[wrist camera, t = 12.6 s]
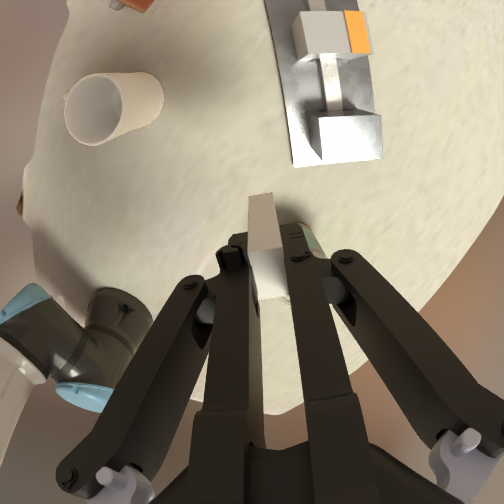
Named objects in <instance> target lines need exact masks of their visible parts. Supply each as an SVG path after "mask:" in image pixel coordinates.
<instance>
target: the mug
mask: <svg viewBox="0 0 504 504" xmlns="http://www.w3.org/2000/svg"><path fill="white" fill-rule="evenodd" d="M62 99H63V100H64V101H65V106H64V120H65V124H66V127H67V129H68V131H69V133H70V134H71V136H72V137H73V138H74V139H75V140H76V141H78V142H79V143H81V144H84V145H88V146H96V145H100V144H103V143H105V142H107V141H109V140H111V139H114V138H116V137H118V136H120V135H122V134H125V133H127V132H129V131H132V130H134V129H139V128H143V127H145V126H147V125H149V124H151V123H152V122H153V121H154V120H155V119H156V118H157V117H158V115H159V114H160V112H161V110H162V107H163V103H164V92H163V88H162V86H161V84H160V82H159V81H158V80H157V79H156V78H155V77H154V76H153V75H151V74H149V73H145V72H133V73H94V74H90V75H87V76H85V77H83V78H81V79H80V80H79V81H78V82H76V83H75V85H74V86H73V87H72V88H71V90H68V91H65V92H64V93H63V95H62Z"/></svg>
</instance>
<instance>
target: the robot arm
mask: <svg viewBox="0 0 504 504" xmlns="http://www.w3.org/2000/svg"><path fill="white" fill-rule="evenodd" d="M215 255H216V258H217V261H218V264H219V267H220V274H218V275H217V276H215V277H213V278H210V279H208V280H204V277H202V276H201V275H190V276H187V277H185V278H184V279H182V280H181V281H180V282H179V283H178V284H177V286H176V287H175V289H174V290H173V292H172V294H171V295H170V297H169V298H168V300H167V302H166V303H165V305H164V306H163V308H162V310H161V311H160V313H159V314H158V316H157V318H156V319H155V321H154V322H153V320H152V317H151V314H150V313H149V311H148V310H147V308H146V307H145V306H144V305H143V304H142V303H141V302H140V301H139V300H137V299H136V298H135V297H133V296H131V295H130V294H128V293H125V292H123V291H120V290H117V289H110V288H107V289H101V290H98V291H97V292H96V293H95V294H94V295H93V296H92V298H91V300H90V302H89V304H88V314H87V317H86V322H85V327H84V328H83V327H81V326H80V325H79V324H78V323H77V322H76V321H75V320H74V319H73V318H72V317H71V316H70V315H69V314H68V313H67V312H66V311H65V310H64V309H63V308H62V307H61V306H60V305H59V304H58V303H57V302H56V301H55V300H54V299H53V297H52V296H51V295H49V294H48V293H47V292H46V291H45V290H44V289H43V288H42V287H41V286H40V285H38V284H36V283H30V284H28V285H27V286H26V287H24V288H23V289H22V290H21V291H20V292H19V293H18V294H17V295H16V296H15V297H14V298H13V299H12V300H11V301H10V302H9V303H8V304H7V305H6V306H5V307H4V309H2V311H1V312H0V467H1V464H2V461H3V458H4V455H5V452H6V449H7V446H8V444H9V441H10V438H11V436H12V433H13V431H14V428H15V426H16V423H17V421H18V418H19V416H20V414H21V412H22V409H23V407H24V405H25V403H26V401H27V398H28V396H29V394H30V392H31V390H32V388H33V386H34V385H36V384H41V383H45V382H46V380H47V378H48V376H50V377H52V378H53V379H54V380H55V381H56V382H57V383H56V385H55V386H56V387H55V390H56V392H57V393H58V394H59V395H60V396H61V397H62V398H64V399H65V400H67V401H68V402H70V403H72V404H74V405H76V406H79V407H81V408H84V409H87V410H91V411H94V412H101V414H100V416H99V418H98V420H97V422H96V424H95V426H94V428H93V430H92V431H91V432H90V433H89V434H88V435H87V437H85V438H84V439H83V440H82V441H81V442H80V443H79V444H78V445H77V446H76V447H75V448H74V449H73V450H72V451H71V452H70V453H69V454H68V455H67V456H66V457H65V458H64V459H63V460H62V461H61V462H60V463H59V465H58V467H57V469H56V481H57V483H58V485H59V487H60V488H61V489H62V490H63V491H65V492H68V493H70V494H72V495H75V496H77V497H80V498H82V499H84V500H85V501H86V502H87V503H88V504H147V503H148V501H149V500H151V499H152V498H153V497H154V490H153V489H152V486H151V484H150V482H151V481H152V479H153V478H154V477H155V475H156V474H157V472H158V471H159V469H160V467H161V465H162V463H163V461H164V459H165V457H166V455H167V452H168V450H169V447H170V445H171V442H172V440H173V437H174V435H175V433H176V430H177V428H178V425H179V423H180V421H181V418H182V416H183V413H184V411H185V408H186V406H187V403H188V401H189V399H190V396H191V394H192V391H193V389H194V387H195V384H196V382H197V379H198V377H199V375H200V372H201V370H202V367H203V365H204V362H205V360H206V358H207V355H208V353H209V357H208V365H207V374H206V383H205V391H204V401H203V407H202V409H201V410H200V411H198V412H197V413H196V414H195V417H194V421H193V429H192V438H191V447H190V457H189V466H187V467H186V468H185V469H184V470H183V471H182V472H181V473H180V474H179V475H178V476H177V477H176V478H175V479H174V480H173V481H172V482H171V483H170V484H169V485H168V486H167V487H166V488H165V489H164V490H163V491H162V492H161V493H160V494H159V495H158V496H157V497H156V498H155V499H154V500H152V501H151V502H150V503H149V504H471V502H472V501H473V499H474V498H475V497H476V496H477V494H478V493H479V491H480V490H481V488H482V487H483V485H484V484H485V482H486V481H487V479H488V477H489V476H490V474H491V473H492V471H493V470H494V468H495V466H496V464H497V463H498V461H499V459H500V458H501V457H502V456H503V455H504V400H503V399H501V398H500V397H498V396H497V395H495V394H493V393H492V392H491V391H489V390H487V389H486V388H484V387H482V386H481V385H480V384H478V383H477V381H476V380H475V379H474V377H473V376H472V375H471V374H470V372H469V371H468V370H467V369H466V367H465V366H464V365H463V364H462V362H461V361H460V360H459V359H458V358H457V357H456V355H455V354H454V353H453V352H452V351H451V349H450V348H449V347H448V346H447V345H446V344H445V342H444V341H443V340H442V339H441V338H440V337H439V336H438V334H437V333H436V332H435V331H434V330H433V329H432V328H431V327H430V325H429V324H428V323H427V322H426V321H425V320H424V319H423V318H422V317H421V316H420V315H419V313H418V312H417V311H416V310H415V309H414V308H413V307H412V306H411V305H410V304H409V303H408V302H407V301H406V300H405V299H404V298H403V297H402V295H401V294H400V293H399V292H398V291H397V290H396V289H395V288H394V287H393V286H392V285H391V284H390V283H389V282H388V281H387V280H386V279H385V278H384V277H383V276H382V275H381V274H380V273H379V272H378V271H377V270H376V269H375V268H374V267H373V266H372V265H371V264H370V263H369V262H368V261H367V260H365V259H364V258H363V257H362V256H361V255H360V254H359V253H358V252H356V251H354V250H350V249H343V250H339V251H337V252H334V254H333V255H332V256H331V259H324V258H318V257H316V256H314V255H313V253H312V252H311V251H310V250H309V247H308V244H307V241H306V238H305V235H304V232H303V229H302V226H300V225H299V224H298V223H293V224H287V225H281V226H279V225H278V219H277V214H276V209H275V204H274V199H273V194H272V192H271V193H265V194H259V195H254V196H249V206H248V232H244V233H238V234H233V235H232V236H231V237H230V239H229V241H228V245H226V246H224V247H222V248H220V249H219V250H218V251H217V252H216V254H215ZM288 295H289V297H290V304H291V310H292V317H293V324H294V330H295V337H296V345H297V352H298V359H299V366H300V374H301V382H302V390H303V398H304V406H305V414H306V423H307V431H308V441H306V442H303V443H300V444H298V445H295V446H292V447H290V448H287V449H284V450H270V449H266V443H265V437H264V414H263V384H262V355H261V327H260V307H259V303H258V298H259V300H263V299H269V298H276V297H282V296H288ZM329 303H330V304H332V305H333V308H334V309H335V311H336V312H337V313H338V315H339V316H340V318H341V319H342V321H343V322H344V324H345V325H346V326H347V328H348V329H349V331H350V332H351V334H352V335H353V337H354V338H355V340H356V341H357V343H358V344H359V346H360V347H361V349H362V350H363V352H364V353H365V355H366V356H367V357H368V359H369V360H370V362H371V364H372V365H373V367H374V368H375V370H376V371H377V373H378V374H379V376H380V377H381V379H382V380H383V382H384V383H385V385H386V386H387V388H388V390H389V391H390V393H391V394H392V396H393V397H394V399H395V400H396V402H397V403H398V405H399V407H400V408H401V410H402V411H403V413H404V415H405V416H406V418H407V419H408V421H409V423H410V424H411V426H412V428H413V429H414V430H415V432H416V433H417V435H418V436H419V438H420V439H421V440H422V441H423V442H424V443H425V444H426V445H427V446H428V448H430V449H431V451H430V454H429V466H430V468H431V469H432V471H433V472H434V473H435V475H436V478H437V485H435V484H433V483H432V482H430V481H429V480H427V479H426V478H424V477H422V476H421V475H419V474H418V473H416V472H415V471H413V470H412V469H410V468H409V467H407V466H406V465H405V464H403V463H402V462H400V461H399V460H397V459H396V458H394V457H393V456H392V455H390V454H389V453H387V452H386V451H385V450H383V449H382V448H380V447H378V446H376V445H374V444H372V443H369V442H368V437H367V433H366V428H365V424H364V419H363V415H362V411H361V407H360V403H359V399H358V397H357V394H356V393H354V392H353V390H352V387H351V384H350V379H349V375H348V371H347V367H346V363H345V360H344V356H343V352H342V348H341V345H340V341H339V337H338V334H337V330H336V327H335V323H334V320H333V316H332V313H331V309H330V306H329Z"/></svg>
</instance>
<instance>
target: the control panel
mask: <svg viewBox="0 0 504 504" xmlns="http://www.w3.org/2000/svg"><path fill="white" fill-rule="evenodd" d="M153 2H154V0H112V1H111V2H110V4H109V7H110V8H112V9H114V10H119V9H120V8H121V7H122V6H123V5H124V4H125V5H127V6H129V7H131V8H133V9H135V10H137V11H139V12H141V13H144V12H145V11H146V10H147V8H148V7H149V6H150V5H151V4H152V3H153Z"/></svg>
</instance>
